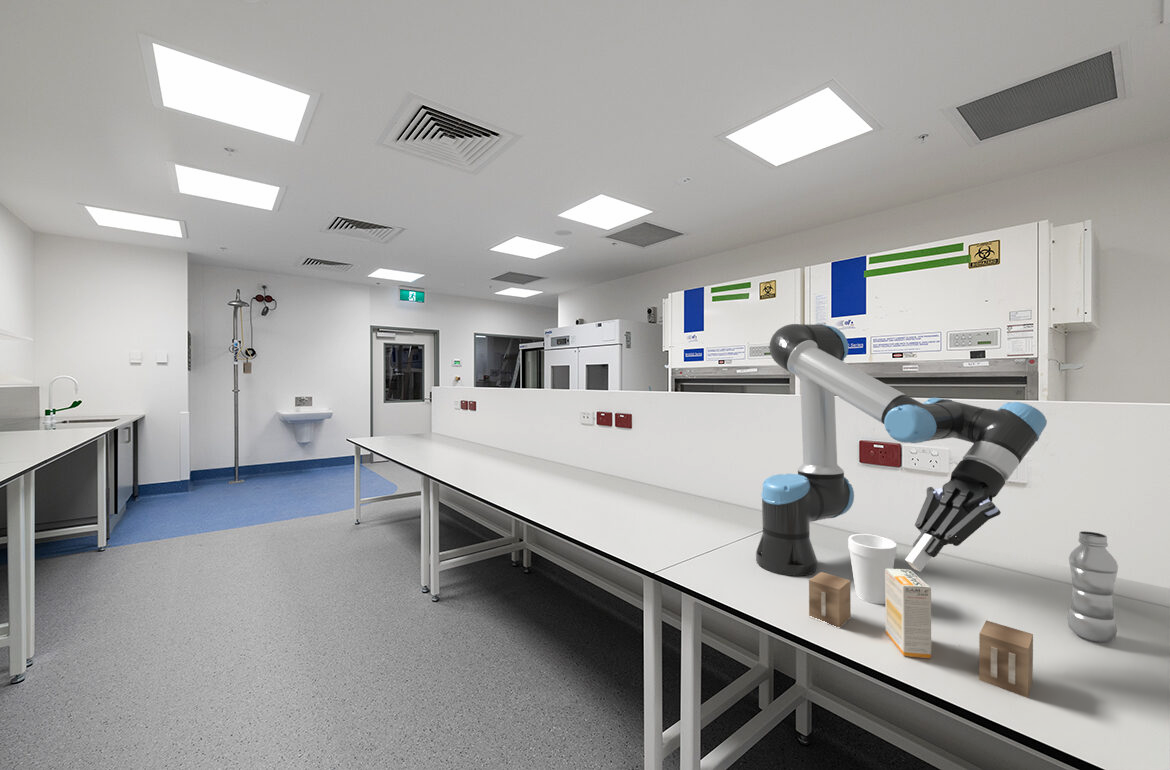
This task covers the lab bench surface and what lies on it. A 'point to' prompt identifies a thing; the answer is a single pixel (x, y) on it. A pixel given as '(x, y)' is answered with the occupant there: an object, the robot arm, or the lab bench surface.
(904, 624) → the supplement box
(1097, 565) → the plastic bottle
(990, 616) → the lab bench surface
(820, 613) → the walnut block one
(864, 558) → the foam cup
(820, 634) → the lab bench surface
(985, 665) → the walnut block two
